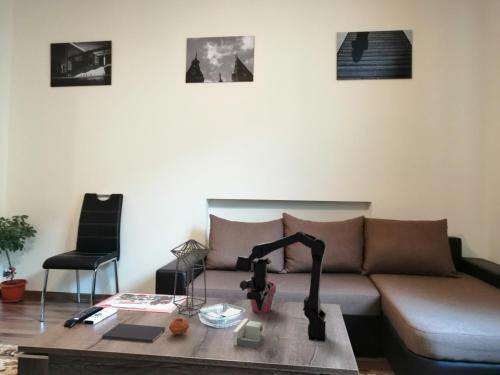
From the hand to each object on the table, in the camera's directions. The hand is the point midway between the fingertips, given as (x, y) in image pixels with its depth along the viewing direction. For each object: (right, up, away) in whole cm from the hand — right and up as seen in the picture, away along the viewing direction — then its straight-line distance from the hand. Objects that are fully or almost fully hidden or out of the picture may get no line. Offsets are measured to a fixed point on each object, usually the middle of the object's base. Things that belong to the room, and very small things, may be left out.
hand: (259, 310), depth 145 cm
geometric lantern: (-33, -8, +21) cm, 40 cm away
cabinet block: (-3, -8, -8) cm, 11 cm away
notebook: (-51, -8, -6) cm, 52 cm away
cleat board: (-4, -8, -10) cm, 13 cm away
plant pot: (+1, -8, +24) cm, 25 cm away
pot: (-33, -8, -7) cm, 35 cm away
